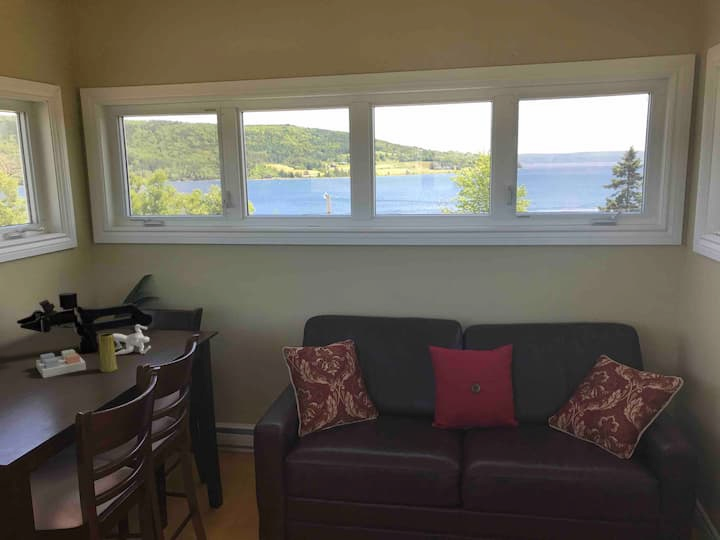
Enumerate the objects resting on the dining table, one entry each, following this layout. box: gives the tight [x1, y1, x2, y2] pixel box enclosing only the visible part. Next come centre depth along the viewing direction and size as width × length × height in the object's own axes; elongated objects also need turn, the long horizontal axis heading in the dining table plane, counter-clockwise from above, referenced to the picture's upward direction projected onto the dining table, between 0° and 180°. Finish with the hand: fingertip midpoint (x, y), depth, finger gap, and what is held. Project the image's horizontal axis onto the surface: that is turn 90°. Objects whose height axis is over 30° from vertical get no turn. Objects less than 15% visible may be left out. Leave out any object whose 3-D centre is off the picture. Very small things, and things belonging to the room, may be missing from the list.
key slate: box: [39, 352, 56, 364], centre depth 224 cm, size 4×4×3 cm
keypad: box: [35, 355, 87, 379], centre depth 224 cm, size 15×15×3 cm
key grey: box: [44, 356, 59, 369], centre depth 219 cm, size 4×4×3 cm
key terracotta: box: [65, 352, 81, 364], centre depth 223 cm, size 4×4×3 cm
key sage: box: [60, 348, 77, 360], centre depth 229 cm, size 4×4×3 cm
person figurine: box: [112, 324, 152, 356], centre depth 245 cm, size 13×13×18 cm
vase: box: [98, 332, 118, 373], centre depth 221 cm, size 6×6×14 cm
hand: (18, 324), depth 229 cm, fingers open, 9 cm apart
